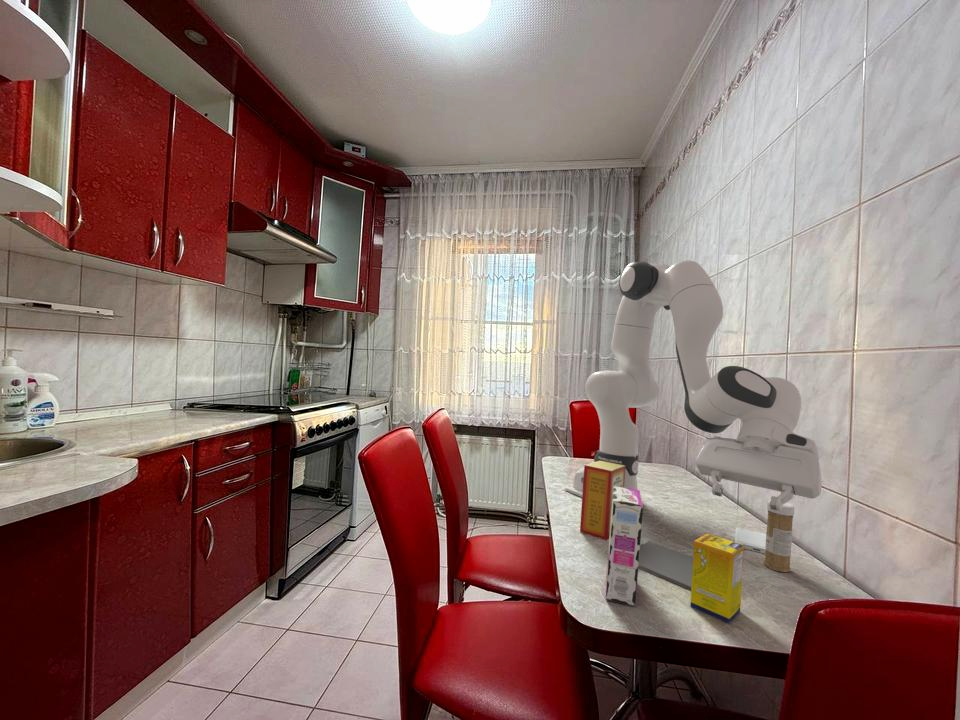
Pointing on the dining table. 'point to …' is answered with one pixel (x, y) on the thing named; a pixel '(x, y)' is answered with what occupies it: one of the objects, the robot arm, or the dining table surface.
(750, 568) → the dining table surface
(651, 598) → the dining table surface
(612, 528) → the candy bar box
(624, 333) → the robot arm
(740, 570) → the supplement box
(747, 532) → the hard drive
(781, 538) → the sprinkles bottle
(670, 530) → the dining table surface
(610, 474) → the baking soda box
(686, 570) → the mat
